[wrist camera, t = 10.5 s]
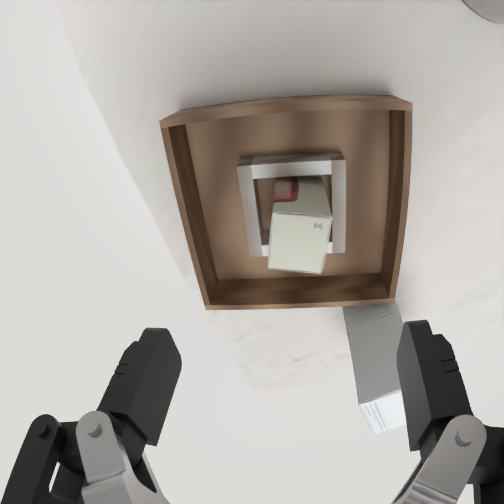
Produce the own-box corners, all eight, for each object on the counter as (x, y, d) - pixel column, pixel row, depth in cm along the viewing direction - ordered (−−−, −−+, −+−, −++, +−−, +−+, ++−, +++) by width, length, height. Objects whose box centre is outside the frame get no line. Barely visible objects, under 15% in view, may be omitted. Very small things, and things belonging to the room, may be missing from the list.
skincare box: (338, 289, 36) (352, 403, 24) (387, 272, 34) (422, 382, 22) (357, 334, 40) (370, 437, 27) (400, 320, 38) (427, 421, 25)
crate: (392, 95, 24) (412, 103, 20) (383, 272, 34) (393, 302, 30) (179, 110, 27) (159, 121, 23) (215, 279, 37) (206, 309, 33)
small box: (275, 172, 28) (270, 210, 22) (323, 176, 28) (333, 216, 22) (271, 221, 31) (266, 270, 25) (316, 225, 31) (322, 275, 24)
